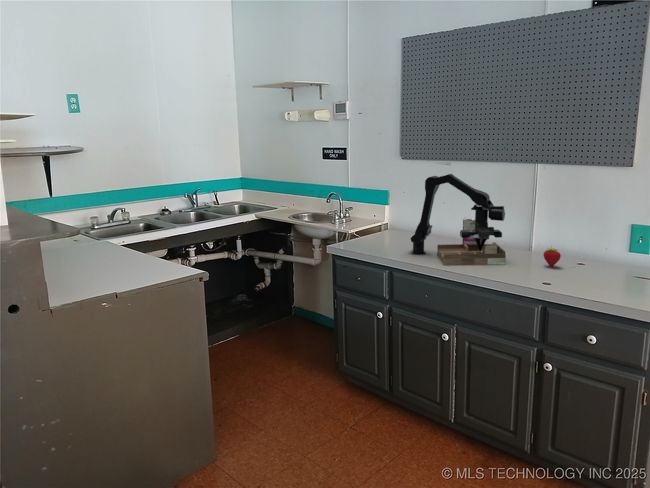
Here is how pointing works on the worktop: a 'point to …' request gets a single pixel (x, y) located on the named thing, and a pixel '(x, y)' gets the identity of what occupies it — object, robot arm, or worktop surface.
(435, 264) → the worktop surface
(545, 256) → the strawberry
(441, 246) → the brown wooden tray
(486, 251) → the birch block
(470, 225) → the candy bar box
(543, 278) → the worktop surface
